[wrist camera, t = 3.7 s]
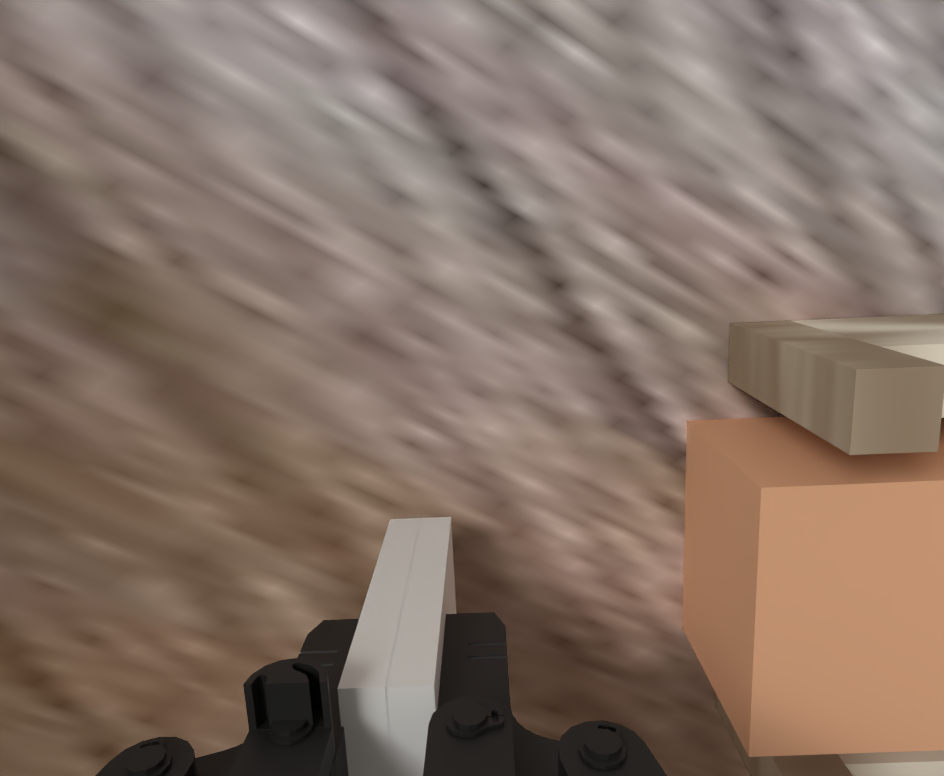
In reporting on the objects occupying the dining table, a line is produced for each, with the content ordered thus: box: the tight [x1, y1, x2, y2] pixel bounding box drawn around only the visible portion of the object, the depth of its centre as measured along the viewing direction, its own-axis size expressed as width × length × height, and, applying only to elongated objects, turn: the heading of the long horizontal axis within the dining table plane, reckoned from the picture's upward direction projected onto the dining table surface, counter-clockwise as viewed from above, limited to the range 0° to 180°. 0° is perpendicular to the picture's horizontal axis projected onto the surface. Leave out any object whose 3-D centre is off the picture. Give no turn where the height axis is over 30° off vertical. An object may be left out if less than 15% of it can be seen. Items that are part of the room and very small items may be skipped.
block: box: [683, 417, 944, 757], centre depth 16 cm, size 6×6×5 cm
